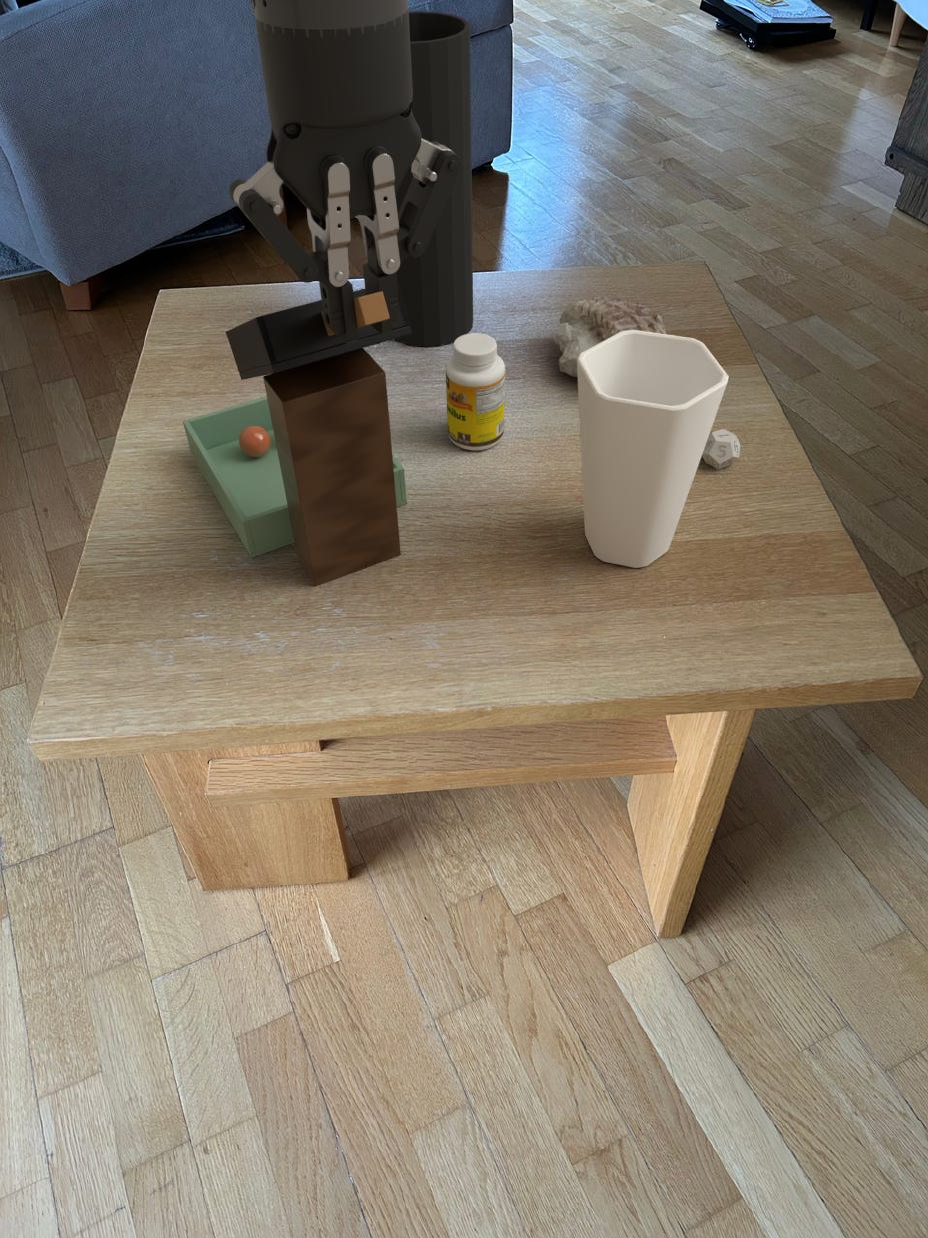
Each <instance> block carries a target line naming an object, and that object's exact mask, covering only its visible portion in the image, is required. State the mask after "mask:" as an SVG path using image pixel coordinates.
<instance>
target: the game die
mask: <svg viewBox="0 0 928 1238" xmlns="http://www.w3.org/2000/svg"><path fill="white" fill-rule="evenodd" d="M740 453H741V442H740V440H739V439H738V437H737V435H736V434H735V433H733V432H731V431H729V430H727V429H725V428H721V429H718V430H714V431H710V434H709V437H708V439H707V442H706V445H705V448H704V451H703V454H702V456H701V458H702V459H703V460H704V462H705V464H707V465H709V466H711V467H713V468H714V469H716V470H720V469H722V468H726V467H729V466H731V465H732V464H733V463H735V462H736V461H737V460H738V459H739V458H740Z"/></svg>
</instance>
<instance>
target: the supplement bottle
mask: <svg viewBox="0 0 928 1238" xmlns="http://www.w3.org/2000/svg"><path fill="white" fill-rule="evenodd" d="M497 347H498V345H497V341H496V340H495V339H494V337H492V336H490V335H488V334H486V333H479V332H471V333H467V334H465V335H462V336H460V337H458V338H457V339H456V340H455V342H453V351H452V356H450V357H449V358H448V360H447V362H446V364H445V384H446V385H445V392H446V393H445V394H446V423H447V436H448V437H449V439H450V441H451V442H452V443H453V444H454V445H456V446H457V447H459V448H461V449H464V450H468V451H484V450H487V449H491V448H493V447H495V446H496V445H498V444H499V442H500V441H501V440H502V439H503V438H504V432H505V408H506V407H505V401H506V365H505V364H506V363H505V362H504V360H503V358H502V357H500V355H498V350H497V349H498V348H497Z"/></svg>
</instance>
